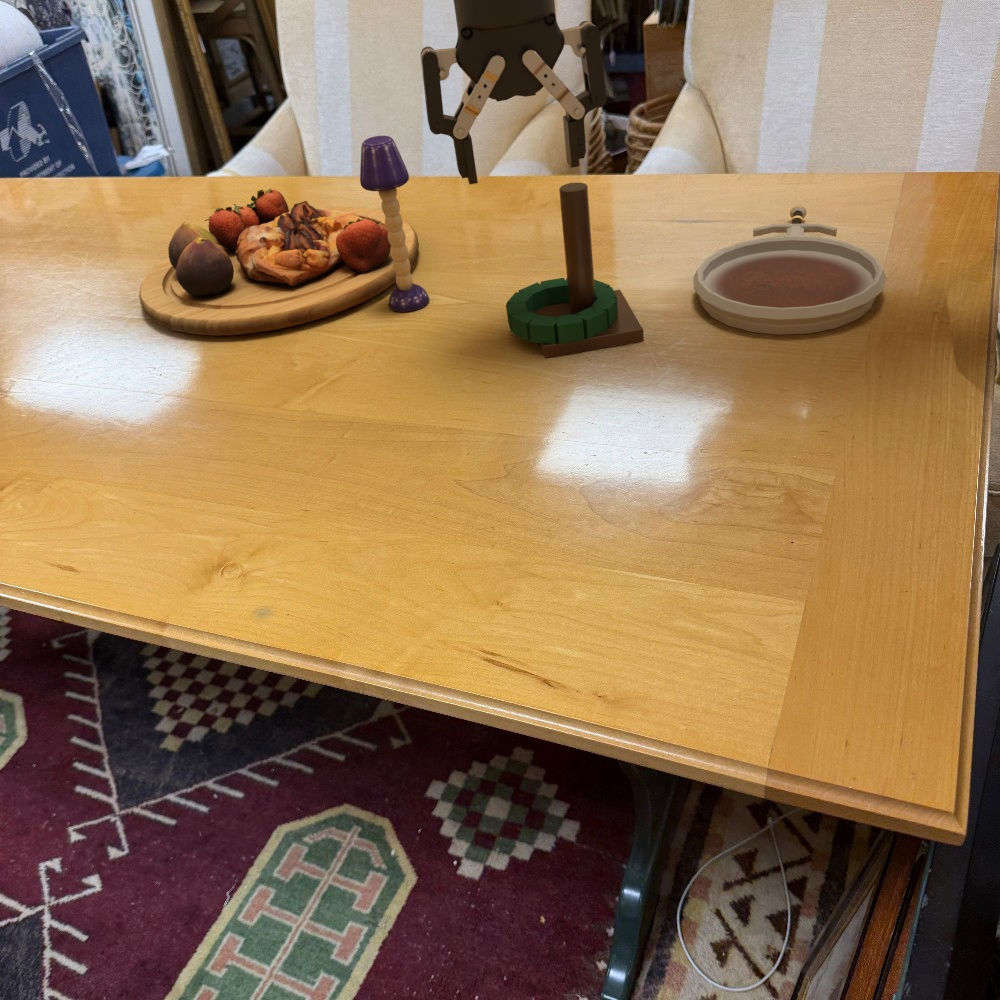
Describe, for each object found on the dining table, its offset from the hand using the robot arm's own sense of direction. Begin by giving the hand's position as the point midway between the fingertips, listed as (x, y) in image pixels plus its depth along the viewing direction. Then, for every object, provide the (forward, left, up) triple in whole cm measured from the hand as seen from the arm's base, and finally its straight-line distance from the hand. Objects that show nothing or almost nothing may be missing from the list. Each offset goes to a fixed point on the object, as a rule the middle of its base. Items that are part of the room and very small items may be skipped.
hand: (523, 173), depth 76 cm
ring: (-2, 0, -14) cm, 14 cm away
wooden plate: (+26, -26, -15) cm, 40 cm away
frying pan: (-25, -4, -15) cm, 30 cm away
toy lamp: (+12, -12, -15) cm, 23 cm away
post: (-4, 0, -15) cm, 16 cm away
